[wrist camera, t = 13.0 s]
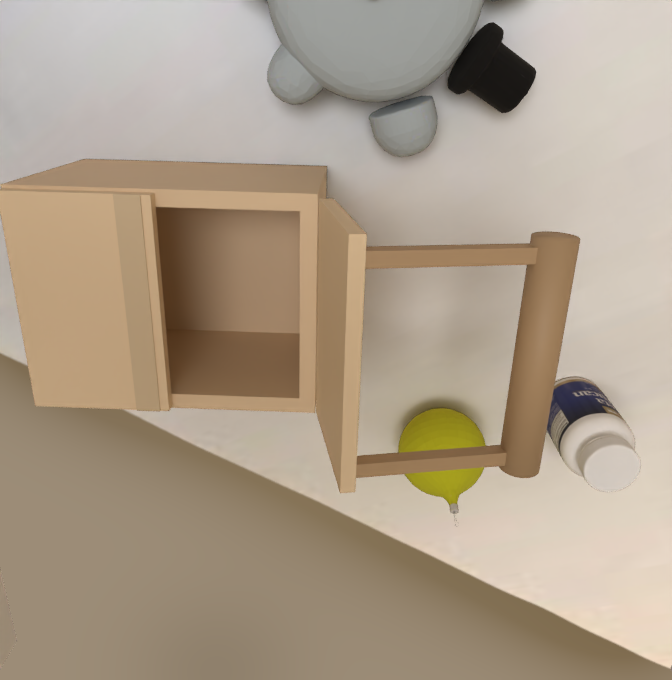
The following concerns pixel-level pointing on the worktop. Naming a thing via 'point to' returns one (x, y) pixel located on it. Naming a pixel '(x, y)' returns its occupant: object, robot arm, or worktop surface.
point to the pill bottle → (592, 435)
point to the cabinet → (168, 283)
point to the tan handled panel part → (346, 345)
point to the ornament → (437, 434)
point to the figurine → (393, 60)
